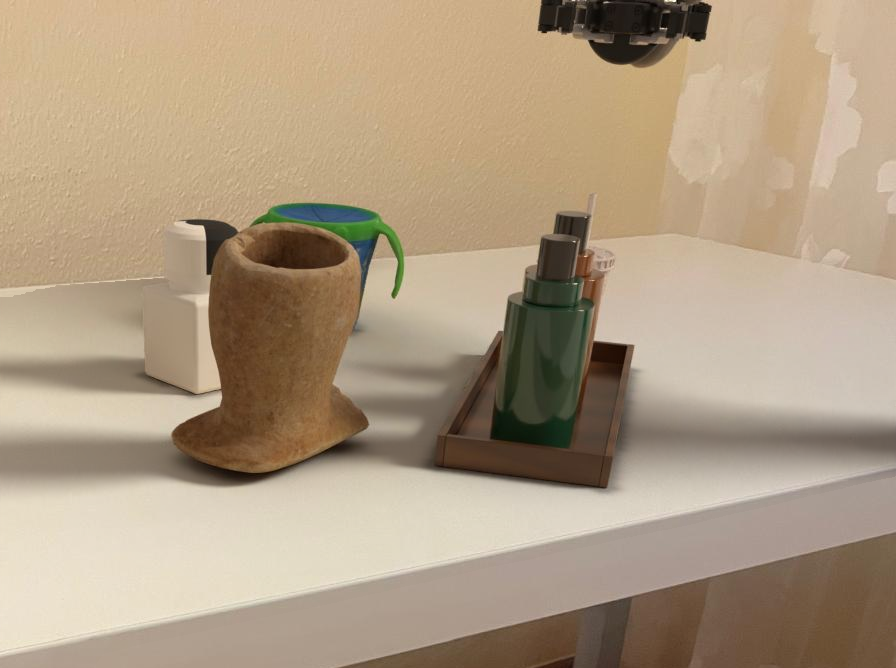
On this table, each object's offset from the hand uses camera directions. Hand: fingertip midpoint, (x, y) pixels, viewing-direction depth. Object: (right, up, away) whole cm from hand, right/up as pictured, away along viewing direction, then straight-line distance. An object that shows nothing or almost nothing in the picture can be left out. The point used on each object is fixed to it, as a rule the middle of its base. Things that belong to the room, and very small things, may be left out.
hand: (619, 20), depth 98 cm
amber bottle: (-7, -32, -2) cm, 33 cm away
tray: (-7, -33, -2) cm, 33 cm away
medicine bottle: (-34, -29, +3) cm, 45 cm away
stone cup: (-28, -39, -12) cm, 49 cm away
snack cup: (-24, -18, +18) cm, 35 cm away
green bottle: (-9, -38, -10) cm, 40 cm away
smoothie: (-4, -27, +6) cm, 28 cm away
